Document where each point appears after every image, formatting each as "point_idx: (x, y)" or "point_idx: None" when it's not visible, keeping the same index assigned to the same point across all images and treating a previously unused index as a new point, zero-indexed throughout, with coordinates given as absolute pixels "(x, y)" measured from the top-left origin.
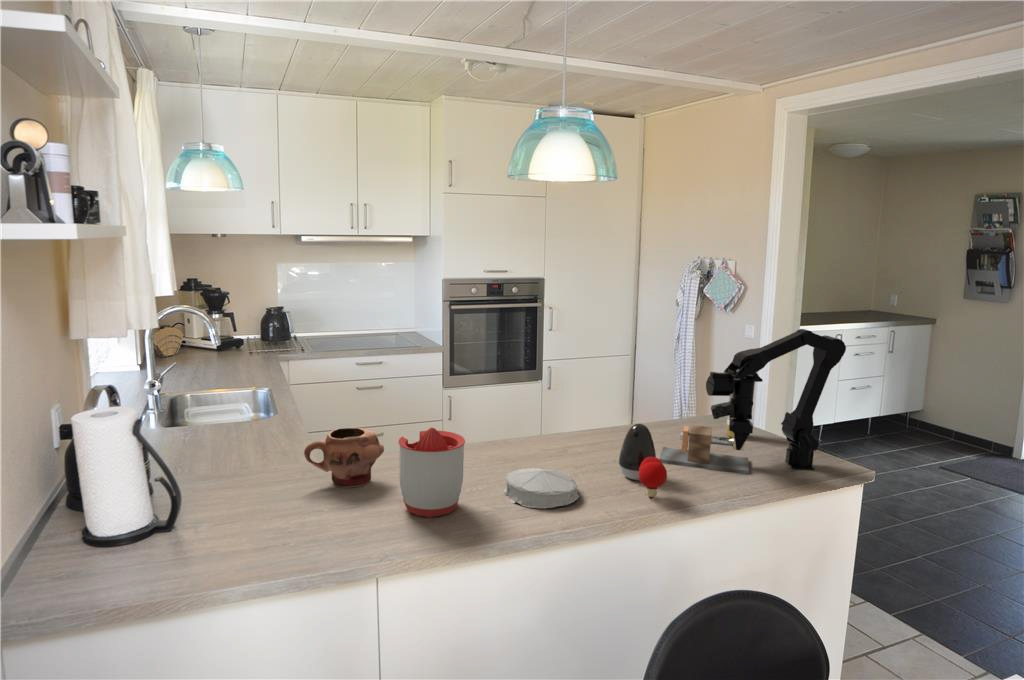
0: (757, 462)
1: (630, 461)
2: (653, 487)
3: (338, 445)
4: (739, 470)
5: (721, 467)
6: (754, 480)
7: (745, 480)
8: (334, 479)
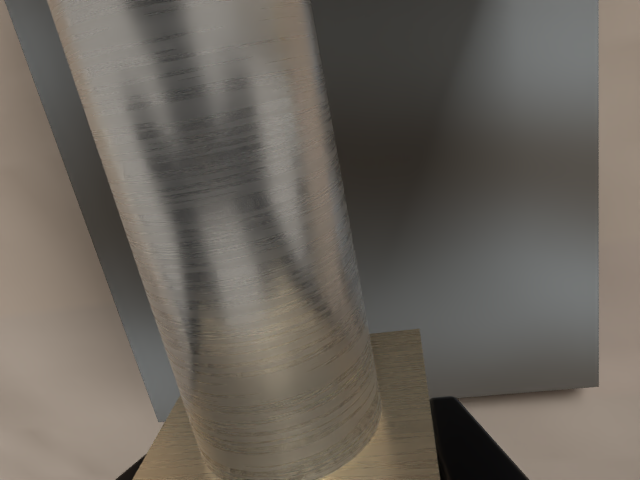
0: (576, 442)
1: None
2: None
3: None
4: (136, 343)
5: (68, 175)
6: (62, 444)
7: (8, 388)
8: None
